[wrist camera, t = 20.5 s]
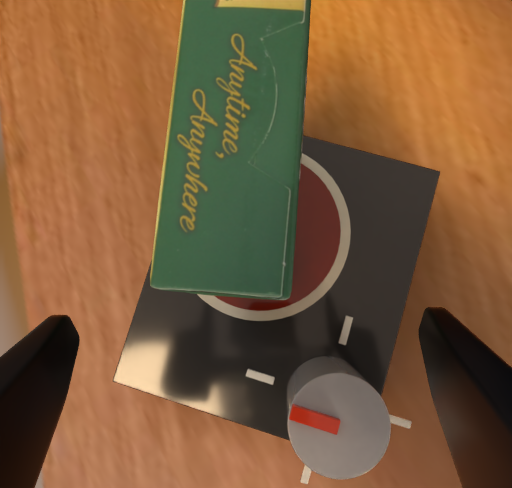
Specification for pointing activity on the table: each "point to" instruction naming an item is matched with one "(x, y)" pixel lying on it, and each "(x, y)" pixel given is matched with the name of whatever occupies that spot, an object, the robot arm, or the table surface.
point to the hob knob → (336, 418)
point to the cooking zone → (304, 250)
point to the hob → (302, 323)
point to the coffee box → (233, 150)
